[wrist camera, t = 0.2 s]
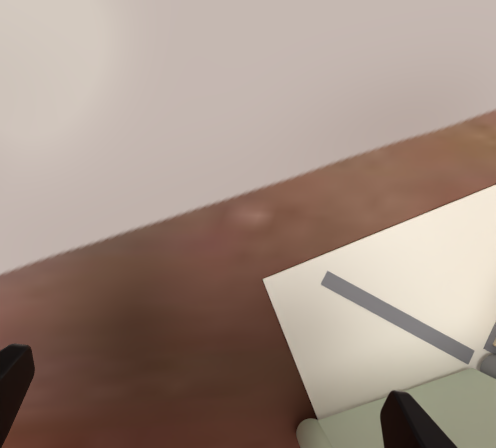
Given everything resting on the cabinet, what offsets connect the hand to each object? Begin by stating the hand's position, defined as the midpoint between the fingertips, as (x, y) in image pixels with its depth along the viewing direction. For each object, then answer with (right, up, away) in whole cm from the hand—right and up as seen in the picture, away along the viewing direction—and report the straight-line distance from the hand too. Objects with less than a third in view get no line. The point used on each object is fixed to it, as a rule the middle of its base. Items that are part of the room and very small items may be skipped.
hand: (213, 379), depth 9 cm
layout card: (+16, -4, +16) cm, 23 cm away
